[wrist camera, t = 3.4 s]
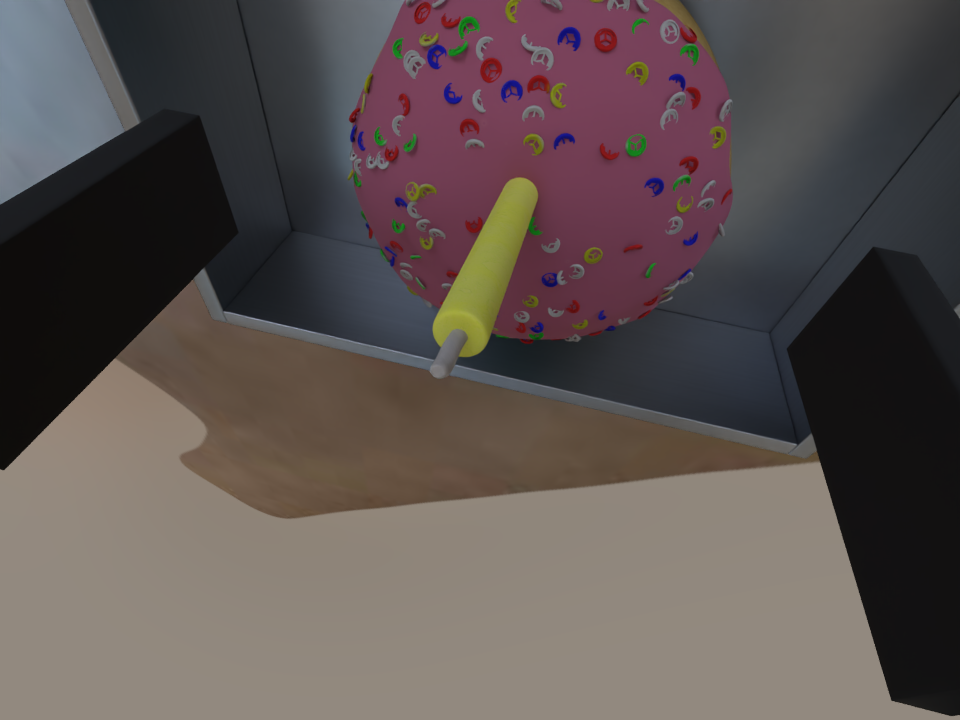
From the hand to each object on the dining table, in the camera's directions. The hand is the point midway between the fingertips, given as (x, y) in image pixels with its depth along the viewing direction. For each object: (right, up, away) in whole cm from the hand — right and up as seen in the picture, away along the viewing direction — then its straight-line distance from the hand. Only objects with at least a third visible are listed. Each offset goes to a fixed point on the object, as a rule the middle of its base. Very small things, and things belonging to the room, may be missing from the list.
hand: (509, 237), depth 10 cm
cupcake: (+2, +5, +4) cm, 7 cm away
